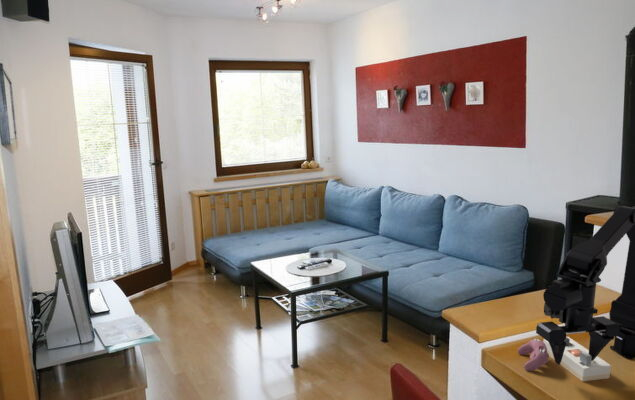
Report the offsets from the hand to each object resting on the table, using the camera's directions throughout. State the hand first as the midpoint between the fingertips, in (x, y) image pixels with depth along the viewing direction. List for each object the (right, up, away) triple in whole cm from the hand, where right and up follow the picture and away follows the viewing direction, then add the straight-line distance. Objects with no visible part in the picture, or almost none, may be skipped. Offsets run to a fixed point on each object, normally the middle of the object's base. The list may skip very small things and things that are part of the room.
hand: (574, 361), depth 123 cm
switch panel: (+4, -3, +7) cm, 9 cm away
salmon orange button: (+4, -1, +6) cm, 7 cm away
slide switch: (+3, -2, +1) cm, 4 cm away
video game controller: (-7, -3, +8) cm, 11 cm away
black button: (+3, +1, +11) cm, 12 cm away
